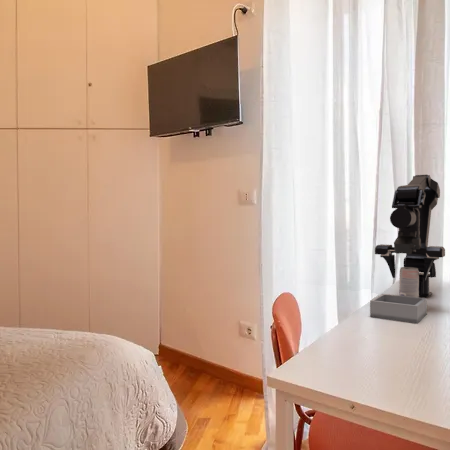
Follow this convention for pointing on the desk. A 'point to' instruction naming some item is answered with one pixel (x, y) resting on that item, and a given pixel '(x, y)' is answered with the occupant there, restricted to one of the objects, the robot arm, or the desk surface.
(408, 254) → the robot arm
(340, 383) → the desk surface
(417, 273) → the energy drink
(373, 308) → the crate
